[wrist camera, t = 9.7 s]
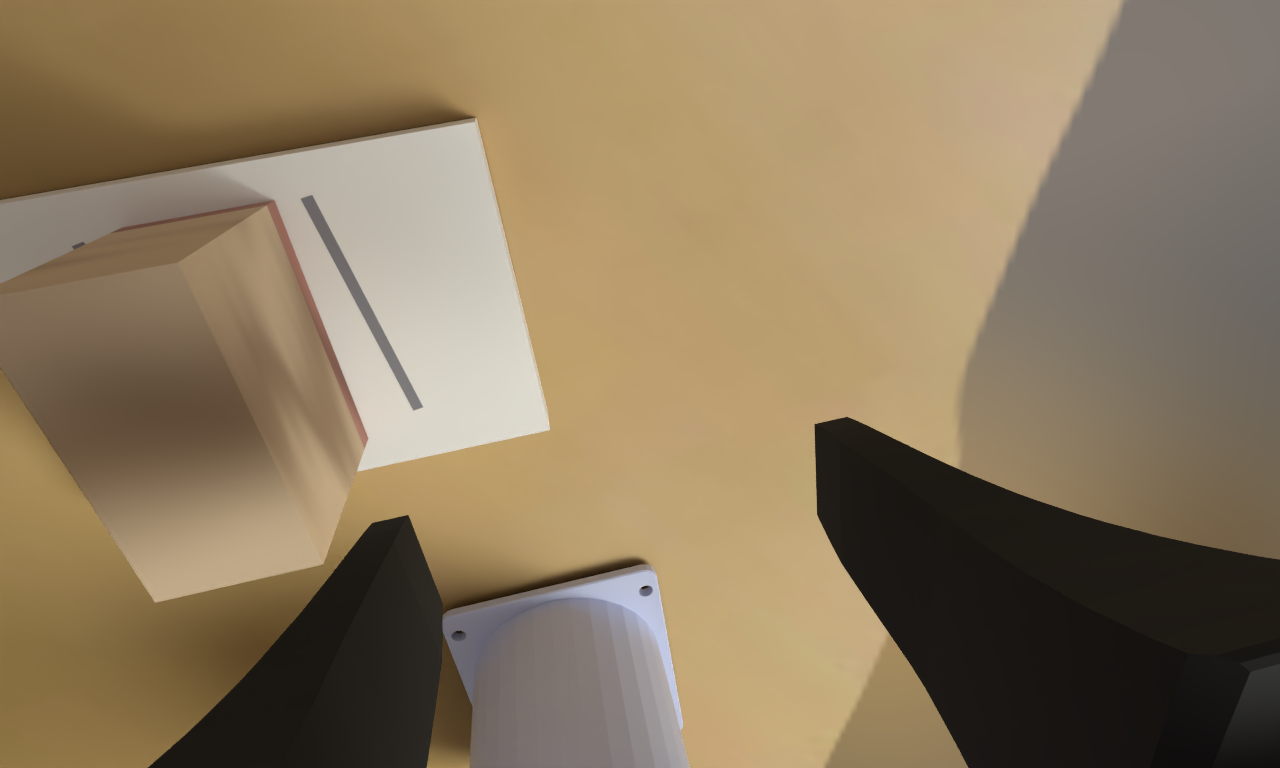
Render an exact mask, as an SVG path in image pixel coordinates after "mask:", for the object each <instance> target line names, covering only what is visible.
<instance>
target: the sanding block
mask: <svg viewBox="0 0 1280 768" xmlns="http://www.w3.org/2000/svg"><path fill="white" fill-rule="evenodd" d="M0 368H1V369H2V371H3V372H4V374H5V375H6V377H7V378H8V380H9V381H10V383H11V384H12V386H13V387H14V389H15V390H16V392H17V394H18V395H19V397H20V398H21V400H22V401H23V403H24V404H25V406H26V407H27V409H28V410H29V412H30V413H31V415H32V416H33V418H34V419H35V421H36V422H37V424H38V425H39V427H40V428H41V430H42V432H43V433H44V435H45V436H46V438H47V439H48V441H49V442H50V444H51V445H52V447H53V448H54V450H55V451H56V453H57V454H58V456H59V457H60V459H61V460H62V462H63V463H64V465H65V466H66V468H67V469H68V471H69V473H70V474H71V476H72V477H73V479H74V480H75V482H76V483H77V485H78V486H79V488H80V489H81V491H82V492H83V494H84V495H85V497H86V498H87V500H88V501H89V503H90V504H91V506H92V507H93V509H94V511H95V512H96V514H97V515H98V517H99V518H100V520H101V521H102V523H103V524H104V526H105V527H106V529H107V530H108V532H109V533H110V535H111V536H112V538H113V539H114V541H115V542H116V544H117V545H118V547H119V549H120V550H121V552H122V553H123V555H124V556H125V558H126V559H127V561H128V562H129V564H130V565H131V567H132V568H133V570H134V571H135V573H136V574H137V576H138V577H139V579H140V580H141V582H142V583H143V585H144V586H145V588H146V590H147V591H148V593H149V594H150V596H151V597H152V599H153V600H154V602H155V603H156V602H160V601H165V600H169V599H174V598H178V597H182V596H187V595H191V594H196V593H200V592H204V591H209V590H213V589H218V588H222V587H226V586H231V585H235V584H240V583H244V582H248V581H253V580H257V579H262V578H266V577H270V576H275V575H279V574H284V573H288V572H292V571H297V570H301V569H306V568H310V567H314V566H319V565H323V564H324V561H325V558H326V556H327V553H328V550H329V547H330V544H331V542H332V539H333V536H334V533H335V530H336V528H337V525H338V522H339V519H340V517H341V514H342V511H343V508H344V505H345V503H346V500H347V497H348V494H349V491H350V489H351V486H352V483H353V480H354V477H355V475H356V472H357V469H358V466H359V463H360V461H361V458H362V455H363V452H364V449H365V447H366V444H367V441H368V436H367V433H366V431H365V428H364V426H363V423H362V421H361V418H360V416H359V413H358V411H357V408H356V406H355V403H354V401H353V398H352V395H351V393H350V390H349V388H348V385H347V383H346V380H345V378H344V375H343V373H342V370H341V368H340V365H339V363H338V360H337V357H336V355H335V352H334V350H333V347H332V345H331V342H330V340H329V337H328V335H327V332H326V330H325V327H324V325H323V322H322V319H321V317H320V314H319V312H318V309H317V307H316V304H315V302H314V299H313V297H312V294H311V292H310V289H309V287H308V284H307V281H306V279H305V276H304V274H303V271H302V269H301V266H300V264H299V261H298V259H297V256H296V254H295V251H294V249H293V246H292V243H291V241H290V238H289V236H288V233H287V231H286V228H285V226H284V223H283V221H282V218H281V216H280V213H279V211H278V208H277V205H276V203H275V200H273V201H268V202H262V203H256V204H251V205H245V206H240V207H234V208H228V209H223V210H217V211H212V212H206V213H201V214H195V215H189V216H184V217H178V218H173V219H167V220H161V221H156V222H150V223H145V224H139V225H134V226H128V227H122V228H120V229H118V230H116V231H114V232H111V233H109V234H107V235H105V236H103V237H101V238H98V239H96V240H94V241H92V242H90V243H88V244H85V245H83V246H81V247H79V248H77V249H75V250H72V251H70V252H68V253H66V254H64V255H62V256H59V257H57V258H55V259H53V260H51V261H49V262H46V263H44V264H42V265H40V266H38V267H36V268H33V269H31V270H29V271H27V272H25V273H23V274H20V275H18V276H16V277H14V278H12V279H10V280H7V281H5V282H3V283H1V284H0Z"/></svg>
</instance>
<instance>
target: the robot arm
mask: <svg viewBox="0 0 1280 768" xmlns="http://www.w3.org/2000/svg"><path fill="white" fill-rule="evenodd" d="M815 454H816V488H817V515H818V517H819V520H820V522H821V524H822V526H823V528H824V530H825V532H826V534H827V536H828V538H829V540H830V542H831V544H832V546H833V548H834V550H835V552H836V554H837V556H838V558H839V559H840V561H841V563H842V565H843V566H844V568H845V569H846V571H847V572H848V574H849V575H850V577H851V578H852V580H853V581H854V583H855V584H856V585H857V587H858V588H859V590H860V591H861V593H862V594H863V596H864V597H865V599H866V600H867V602H868V603H869V605H870V606H871V608H872V609H873V610H874V612H875V613H876V615H877V616H878V618H879V619H880V621H881V622H882V624H883V625H884V626H885V628H886V629H887V631H888V632H889V634H890V635H891V637H892V638H893V640H894V641H895V642H896V644H897V645H898V647H899V648H900V650H901V651H902V653H903V654H904V655H905V657H906V658H907V660H908V661H909V663H910V664H911V666H912V667H913V669H914V671H915V672H916V674H917V675H918V677H919V679H920V680H921V682H922V683H923V685H924V687H925V688H926V690H927V692H928V693H929V695H930V697H931V699H932V701H933V702H934V704H935V706H936V708H937V710H938V712H939V714H940V715H941V717H942V719H943V721H944V722H945V725H946V726H947V728H948V730H949V732H950V734H951V735H952V737H953V739H954V741H955V743H956V744H957V747H958V748H959V750H960V752H961V754H962V756H963V758H964V760H965V762H966V764H967V766H968V767H969V768H1280V560H1279V559H1278V560H1277V559H1271V558H1265V557H1258V556H1253V555H1248V554H1243V553H1237V552H1232V551H1227V550H1222V549H1217V548H1211V547H1207V546H1201V545H1196V544H1192V543H1187V542H1183V541H1178V540H1174V539H1169V538H1165V537H1160V536H1156V535H1152V534H1148V533H1145V532H1141V531H1137V530H1133V529H1129V528H1125V527H1122V526H1118V525H1114V524H1110V523H1106V522H1103V521H1099V520H1096V519H1093V518H1089V517H1086V516H1082V515H1079V514H1076V513H1073V512H1070V511H1067V510H1064V509H1061V508H1058V507H1055V506H1052V505H1049V504H1046V503H1042V502H1040V501H1037V500H1034V499H1031V498H1028V497H1025V496H1023V495H1020V494H1017V493H1014V492H1012V491H1009V490H1006V489H1004V488H1002V487H1000V486H997V485H995V484H992V483H990V482H987V481H985V480H982V479H980V478H977V477H975V476H972V475H970V474H968V473H966V472H963V471H961V470H959V469H957V468H954V467H952V466H950V465H948V464H946V463H943V462H941V461H939V460H937V459H935V458H933V457H931V456H928V455H926V454H924V453H922V452H920V451H918V450H916V449H914V448H912V447H910V446H908V445H906V444H904V443H902V442H900V441H897V440H895V439H893V438H891V437H889V436H887V435H885V434H883V433H881V432H879V431H877V430H875V429H873V428H871V427H869V426H867V425H865V424H862V423H860V422H858V421H856V420H853V419H851V418H849V417H845V418H840V419H836V420H831V421H827V422H822V423H818V424H815ZM643 586H649V587H648V588H646V589H640V588H641V587H643ZM456 631H463V633H456ZM442 634H444V636H445V639H446V641H447V644H448V646H449V649H450V652H451V654H452V657H453V659H454V662H455V664H456V667H457V669H458V672H459V674H460V677H461V679H462V682H463V684H464V687H465V689H466V692H467V694H468V697H469V699H470V702H471V704H472V707H473V710H472V728H471V747H470V766H469V768H690V766H689V762H688V758H687V754H686V750H685V746H684V742H683V738H682V734H681V729H682V727H683V720H682V715H681V709H680V704H679V698H678V692H677V687H676V681H675V676H674V670H673V664H672V659H671V653H670V648H669V642H668V636H667V631H666V625H665V620H664V614H663V609H662V603H661V597H660V592H659V586H658V581H657V576H656V572H655V570H654V568H653V567H652V566H650V565H647V564H642V565H637V566H633V567H628V568H624V569H620V570H616V571H612V572H607V573H603V574H599V575H595V576H590V577H586V578H582V579H578V580H574V581H569V582H565V583H561V584H557V585H553V586H548V587H544V588H540V589H536V590H531V591H527V592H523V593H519V594H515V595H510V596H506V597H502V598H498V599H494V600H489V601H485V602H481V603H477V604H472V605H468V606H464V607H460V608H456V609H452V610H449V611H447V612H446V613H445V614H444V615H443V613H442V601H441V598H440V596H439V593H438V591H437V588H436V585H435V583H434V580H433V578H432V575H431V572H430V570H429V567H428V565H427V562H426V559H425V557H424V554H423V552H422V549H421V547H420V544H419V541H418V539H417V536H416V534H415V531H414V528H413V526H412V523H411V521H410V518H409V516H408V515H407V516H402V517H398V518H393V519H389V520H384V521H380V522H375V523H372V524H371V525H370V526H369V527H368V529H367V530H366V531H365V532H364V533H363V535H362V536H361V537H360V538H359V540H358V541H357V542H356V544H355V545H354V546H353V547H352V549H351V550H350V551H349V553H348V554H347V555H346V556H345V558H344V559H343V560H342V562H341V563H340V564H339V566H338V567H337V568H336V569H335V571H334V572H333V573H332V575H331V576H330V577H329V578H328V580H327V581H326V582H325V583H324V585H323V586H322V587H321V588H320V590H319V591H318V592H317V593H316V595H315V596H314V597H313V598H312V600H311V601H310V602H309V603H308V605H307V606H306V607H305V608H304V610H303V611H302V612H301V613H300V614H299V616H298V617H297V618H296V619H295V620H294V621H293V623H292V624H291V625H290V626H289V627H288V628H287V629H286V631H285V632H284V633H283V634H282V635H281V636H280V637H279V639H278V640H277V641H276V642H275V643H274V644H273V645H272V647H271V648H270V649H269V650H268V651H267V652H266V653H265V655H264V656H263V657H262V658H261V659H260V660H259V661H258V663H257V664H256V665H255V666H254V667H253V668H252V669H251V670H250V671H249V672H248V673H247V674H246V676H245V677H244V678H243V679H242V680H241V681H240V682H239V683H238V684H237V685H236V686H235V687H234V688H233V689H232V690H231V691H230V692H229V693H228V694H227V695H226V696H225V697H224V698H223V699H222V700H221V701H220V702H219V703H218V704H217V705H216V706H215V707H214V708H213V709H212V710H211V711H210V712H209V713H208V714H207V715H206V716H205V717H204V718H203V719H202V720H201V721H200V722H199V723H198V724H196V725H195V726H194V727H193V728H192V729H191V730H190V731H189V732H188V733H187V734H186V735H185V736H184V737H182V738H181V739H180V740H179V741H178V742H177V743H176V744H174V745H173V746H172V747H171V748H170V749H169V750H168V751H166V752H165V753H164V754H163V755H162V756H161V757H160V758H159V759H157V760H156V761H155V762H154V763H153V764H152V765H151V766H149V767H148V768H426V767H427V761H428V754H429V747H430V740H431V733H432V727H433V720H434V713H435V706H436V699H437V692H438V685H439V677H440V670H441V662H442Z"/></svg>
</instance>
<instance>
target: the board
mask: <svg viewBox="0 0 1280 768" xmlns="http://www.w3.org/2000/svg"><path fill="white" fill-rule="evenodd" d="M273 200H275V203H276V205H277V208H278V211H279V213H280V216H281V218H282V221H283V223H284V226H285V228H286V231H287V233H288V236H289V238H290V241H291V243H292V246H293V249H294V251H295V254H296V256H297V259H298V261H299V264H300V266H301V269H302V271H303V274H304V276H305V279H306V281H307V284H308V287H309V289H310V292H311V294H312V297H313V299H314V302H315V304H316V307H317V309H318V312H319V314H320V317H321V319H322V322H323V325H324V327H325V330H326V332H327V335H328V337H329V340H330V342H331V345H332V347H333V350H334V352H335V355H336V357H337V360H338V363H339V365H340V368H341V370H342V373H343V375H344V378H345V380H346V383H347V385H348V388H349V390H350V393H351V395H352V398H353V401H354V403H355V406H356V408H357V411H358V413H359V416H360V418H361V421H362V423H363V426H364V428H365V431H366V433H367V436H368V441H367V444H366V447H365V449H364V452H363V455H362V458H361V461H360V463H359V466H358V469H357V472H358V471H362V470H367V469H372V468H376V467H381V466H385V465H390V464H395V463H399V462H404V461H408V460H413V459H418V458H422V457H427V456H432V455H436V454H441V453H445V452H450V451H455V450H459V449H464V448H469V447H473V446H478V445H482V444H487V443H492V442H496V441H501V440H505V439H510V438H515V437H519V436H524V435H529V434H533V433H538V432H542V431H547V430H550V427H549V418H548V410H547V406H546V402H545V398H544V394H543V390H542V386H541V381H540V377H539V373H538V369H537V365H536V361H535V357H534V353H533V348H532V344H531V340H530V336H529V332H528V328H527V324H526V320H525V316H524V311H523V307H522V303H521V299H520V295H519V291H518V287H517V283H516V278H515V274H514V270H513V266H512V262H511V258H510V254H509V250H508V245H507V241H506V237H505V233H504V229H503V225H502V221H501V217H500V212H499V208H498V204H497V200H496V196H495V192H494V188H493V184H492V179H491V175H490V171H489V167H488V163H487V159H486V155H485V151H484V147H483V142H482V138H481V134H480V130H479V126H478V122H477V118H471V119H465V120H459V121H454V122H448V123H442V124H436V125H430V126H425V127H419V128H413V129H407V130H402V131H396V132H390V133H384V134H378V135H373V136H367V137H361V138H355V139H350V140H344V141H338V142H332V143H327V144H321V145H315V146H309V147H303V148H298V149H292V150H286V151H280V152H275V153H269V154H263V155H257V156H252V157H246V158H240V159H234V160H228V161H223V162H217V163H211V164H205V165H200V166H194V167H188V168H182V169H177V170H171V171H165V172H159V173H153V174H148V175H142V176H136V177H130V178H125V179H119V180H113V181H107V182H101V183H96V184H90V185H84V186H78V187H73V188H67V189H61V190H55V191H50V192H44V193H38V194H32V195H26V196H21V197H15V198H9V199H3V200H0V284H1V283H3V282H5V281H7V280H10V279H12V278H14V277H16V276H18V275H20V274H23V273H25V272H27V271H29V270H31V269H33V268H36V267H38V266H40V265H42V264H44V263H46V262H49V261H51V260H53V259H55V258H57V257H59V256H62V255H64V254H66V253H68V252H70V251H72V250H75V249H77V248H79V247H81V246H83V245H85V244H88V243H90V242H92V241H94V240H96V239H98V238H101V237H103V236H105V235H107V234H109V233H111V232H114V231H116V230H118V229H120V228H122V227H128V226H134V225H139V224H145V223H150V222H156V221H161V220H167V219H173V218H178V217H184V216H189V215H195V214H201V213H206V212H212V211H217V210H223V209H228V208H234V207H240V206H245V205H251V204H256V203H262V202H268V201H273Z"/></svg>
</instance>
